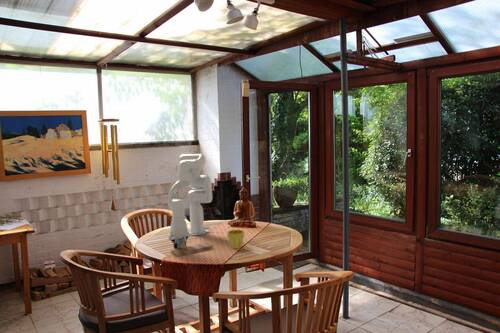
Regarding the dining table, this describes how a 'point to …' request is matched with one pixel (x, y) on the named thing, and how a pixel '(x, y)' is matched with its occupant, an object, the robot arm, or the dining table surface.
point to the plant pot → (236, 238)
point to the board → (192, 249)
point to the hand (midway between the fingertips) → (180, 247)
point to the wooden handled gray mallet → (181, 243)
